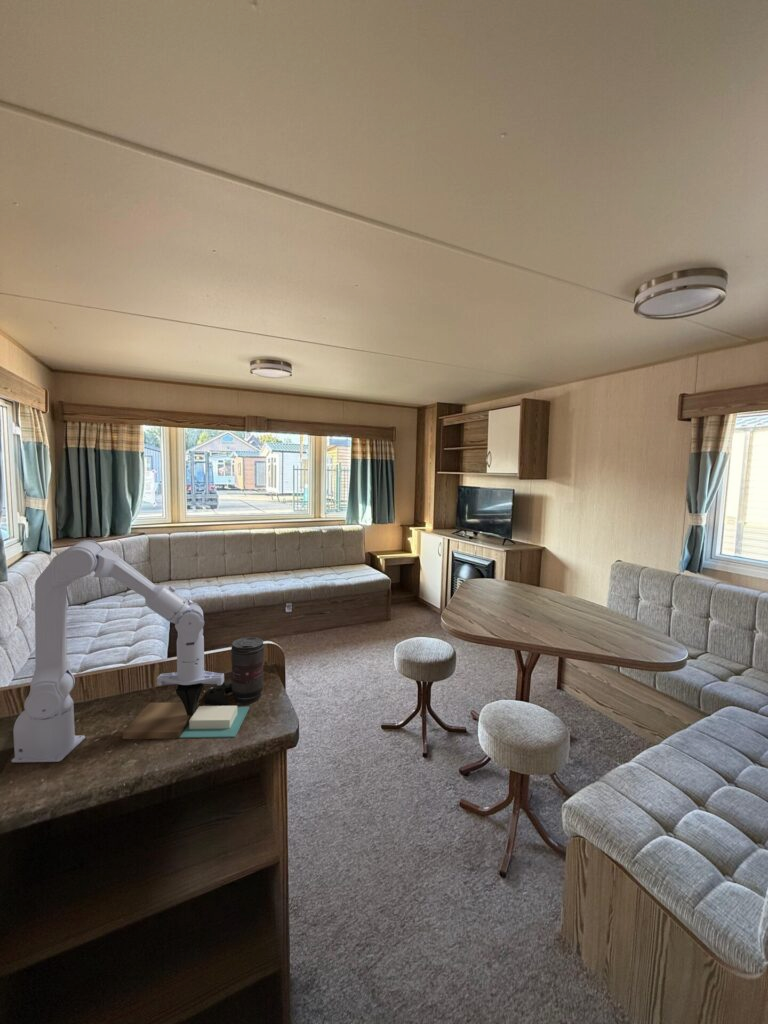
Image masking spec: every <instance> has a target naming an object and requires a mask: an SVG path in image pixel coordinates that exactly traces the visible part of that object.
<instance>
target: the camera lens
mask: <svg viewBox="0 0 768 1024" xmlns="http://www.w3.org/2000/svg"><path fill="white" fill-rule="evenodd" d="M231 645H232V646H231V647H230V648H231V653H230V655H231V656H230V659H231V671H230V675H231V682H232V691H231V692H232V695H233V699H234V701H235V702H236V703H237V704H241V705H248V704H252V703H255V702H257V701H259V699H260V698H261V697H262V693H263V688H264V661H265V660H264V659H265V645H264V640H263V639H262V638H259V637H256V636H253V637H252V636H247V637H246V636H245V637H241V638H238V639H236V640H234V641H232V643H231Z"/></svg>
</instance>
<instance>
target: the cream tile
mask: <svg viewBox="0 0 768 1024" xmlns="http://www.w3.org/2000/svg"><path fill="white" fill-rule="evenodd" d="M237 707H238V705H227V706H218V705H200V706H199V707H198V709H197V710H196V712H195V713H194V715H193V716H192V717H191V719H190V720H189V729H222V728H230V727H231V725H232V723H233V721H234V719H235V717H236V715H237Z"/></svg>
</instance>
